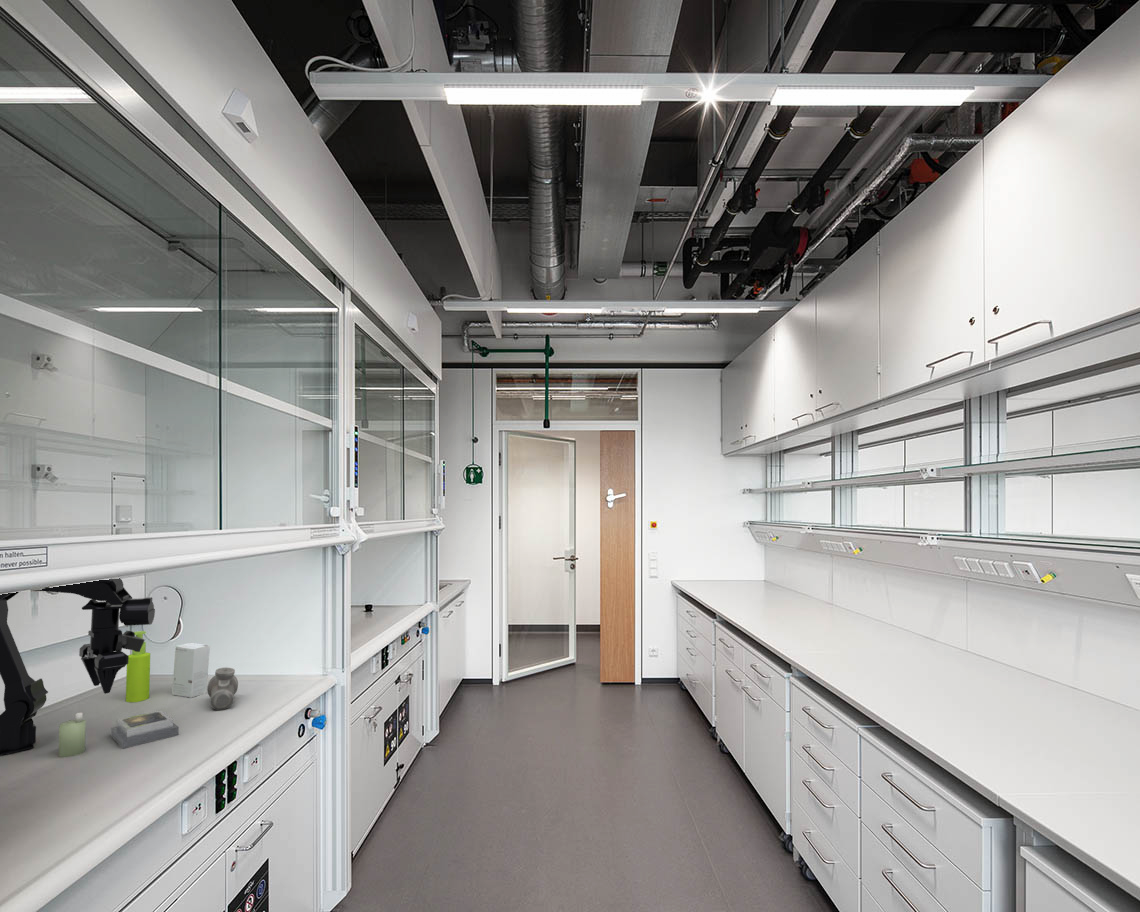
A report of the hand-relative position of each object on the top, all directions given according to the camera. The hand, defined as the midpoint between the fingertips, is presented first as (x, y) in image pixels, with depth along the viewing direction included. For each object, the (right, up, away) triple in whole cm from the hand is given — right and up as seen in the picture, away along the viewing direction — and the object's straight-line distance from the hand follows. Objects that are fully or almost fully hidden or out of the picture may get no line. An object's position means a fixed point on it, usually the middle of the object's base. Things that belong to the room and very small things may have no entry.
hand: (101, 689), depth 164 cm
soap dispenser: (-12, -14, +31) cm, 36 cm away
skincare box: (+1, -15, +36) cm, 39 cm away
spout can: (-1, -12, -8) cm, 15 cm away
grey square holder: (+9, -13, +2) cm, 16 cm away
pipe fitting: (+17, -14, +26) cm, 34 cm away
